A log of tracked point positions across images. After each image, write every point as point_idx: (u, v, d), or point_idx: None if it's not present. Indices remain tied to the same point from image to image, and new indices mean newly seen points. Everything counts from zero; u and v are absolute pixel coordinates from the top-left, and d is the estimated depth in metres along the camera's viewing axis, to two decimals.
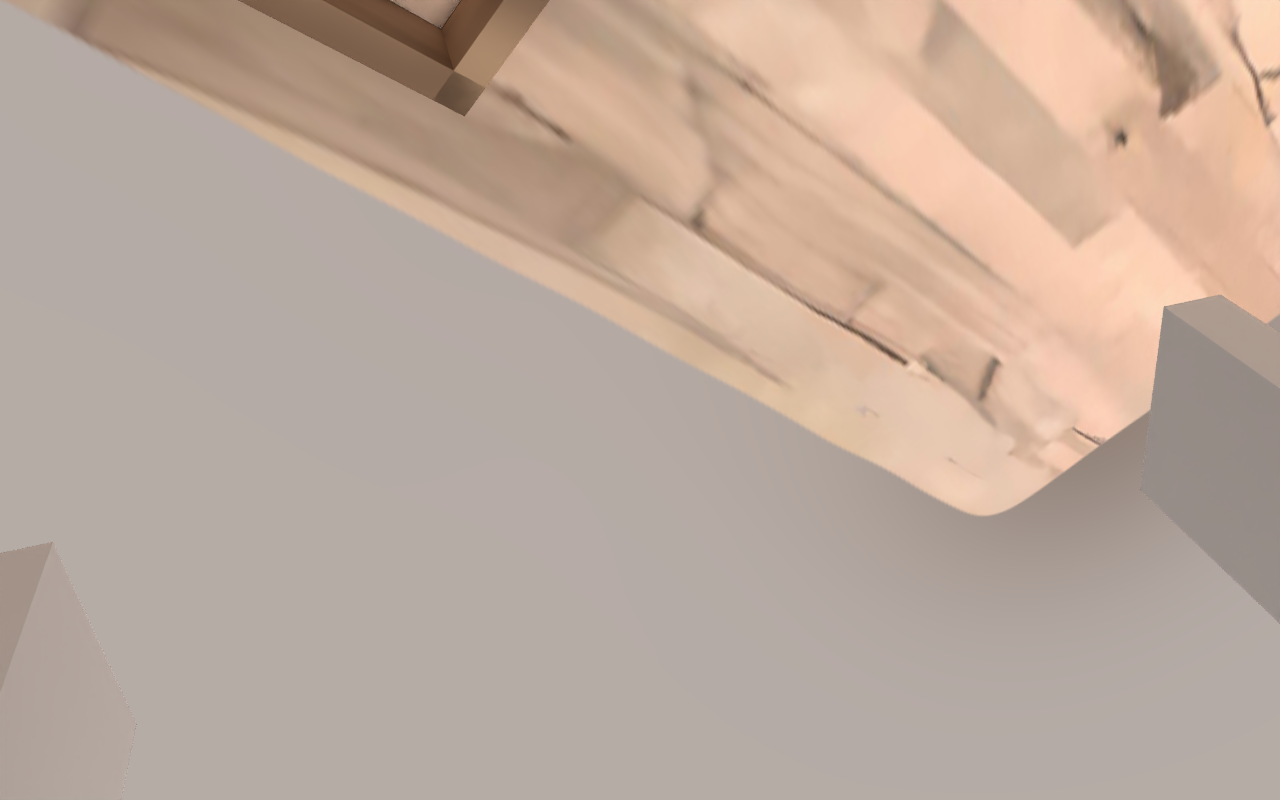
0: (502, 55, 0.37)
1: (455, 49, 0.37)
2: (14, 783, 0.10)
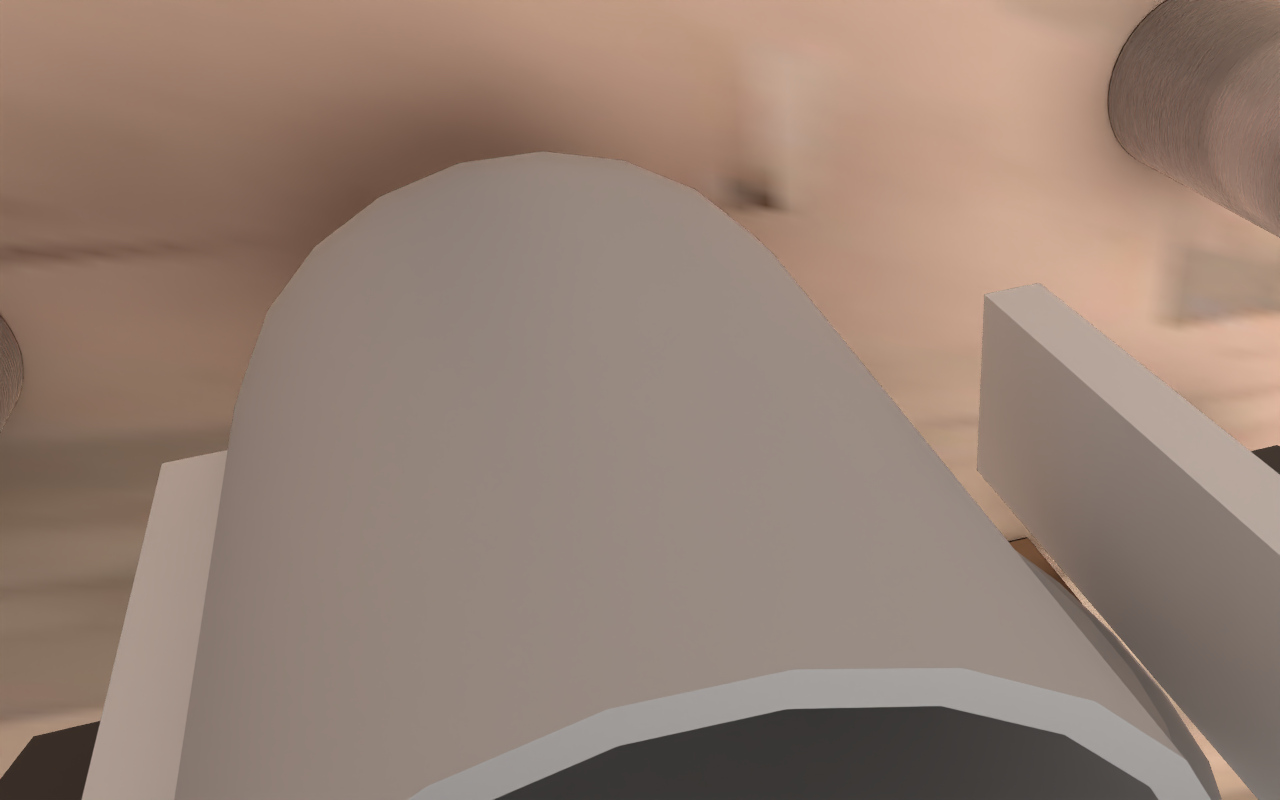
0: None
1: None
2: None
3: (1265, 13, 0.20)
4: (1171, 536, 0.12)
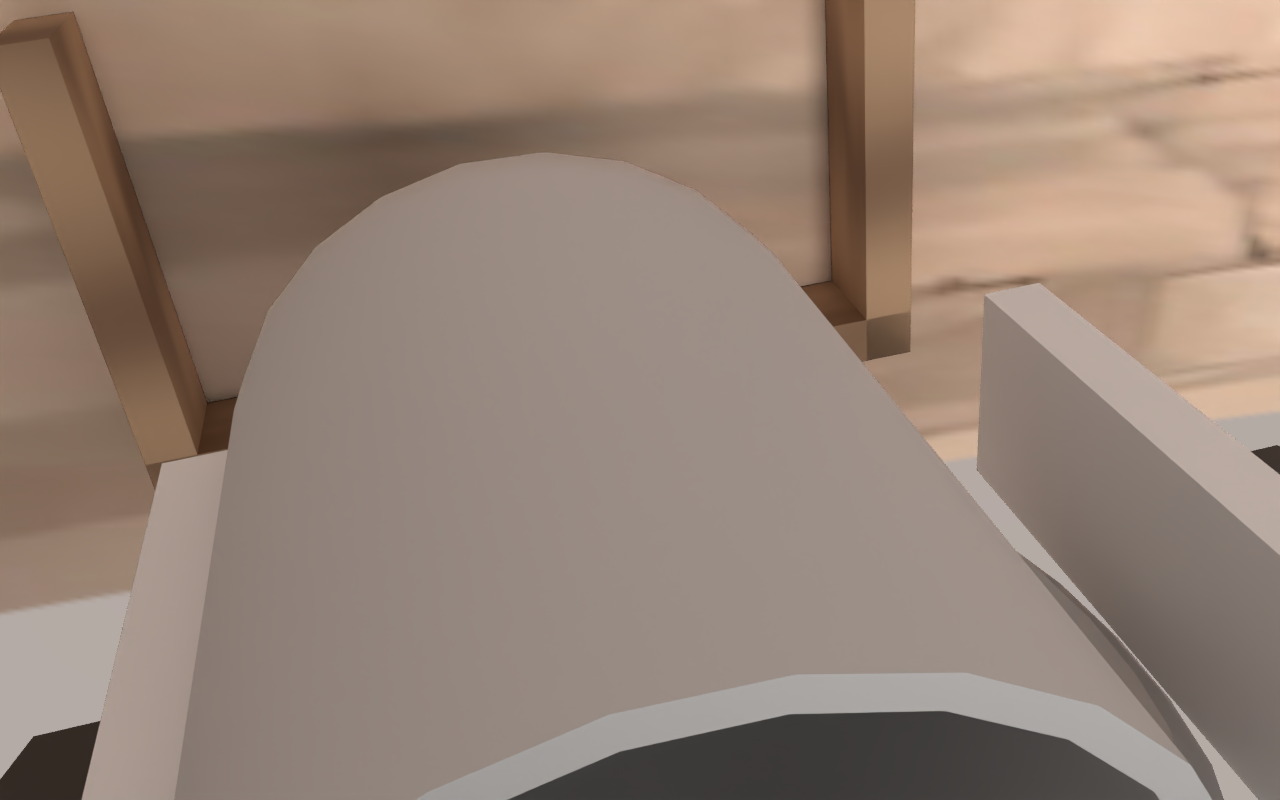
0: (904, 269, 0.30)
1: (855, 296, 0.31)
2: None
3: None
4: (1171, 536, 0.12)
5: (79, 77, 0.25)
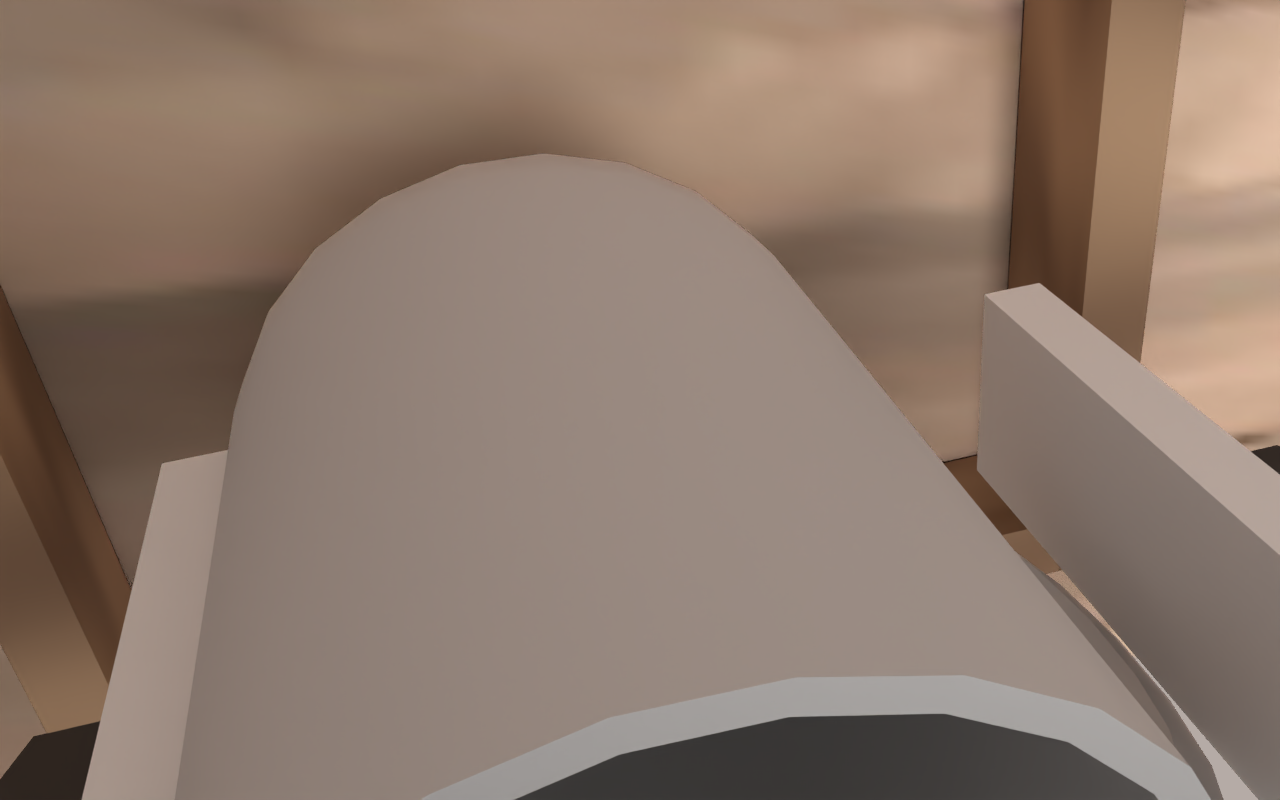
0: None
1: None
2: None
3: None
4: (1171, 536, 0.12)
5: None
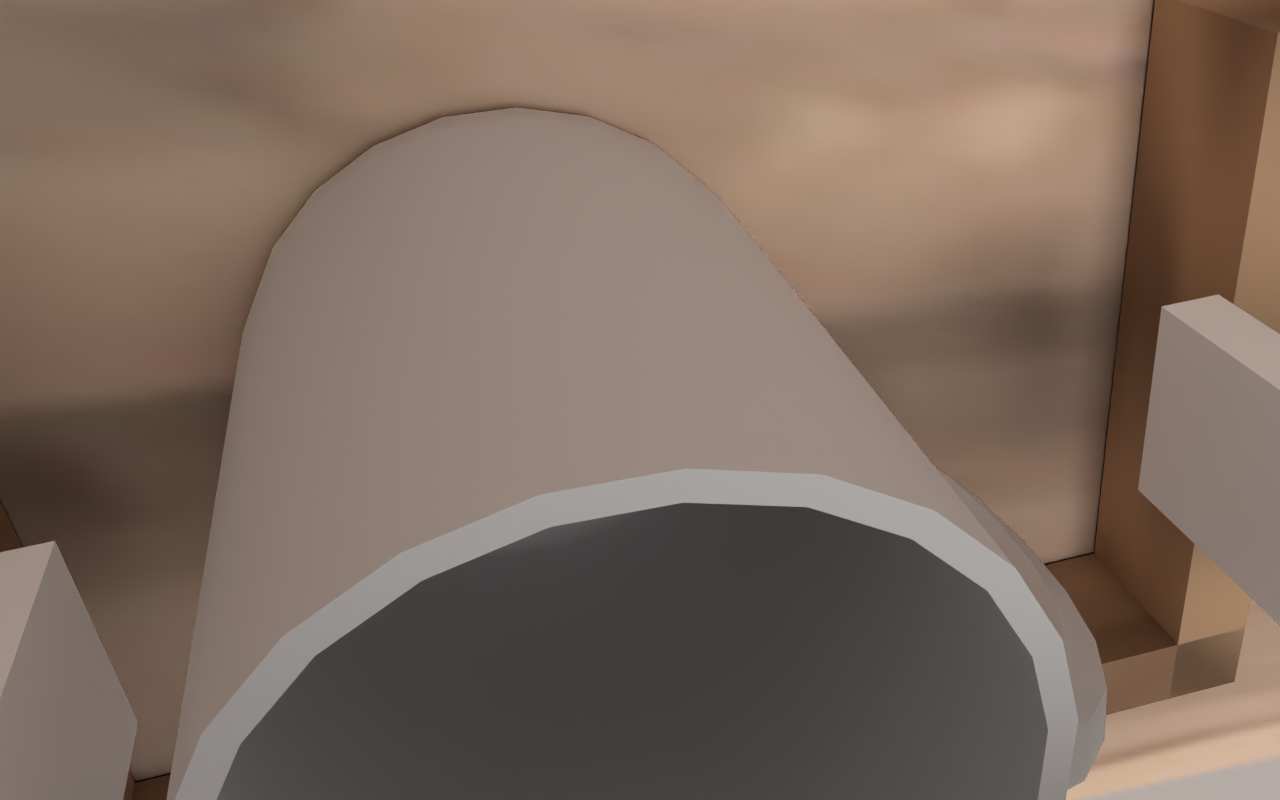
0: None
1: (1151, 600, 0.20)
2: (17, 781, 0.11)
3: None
4: None
5: None
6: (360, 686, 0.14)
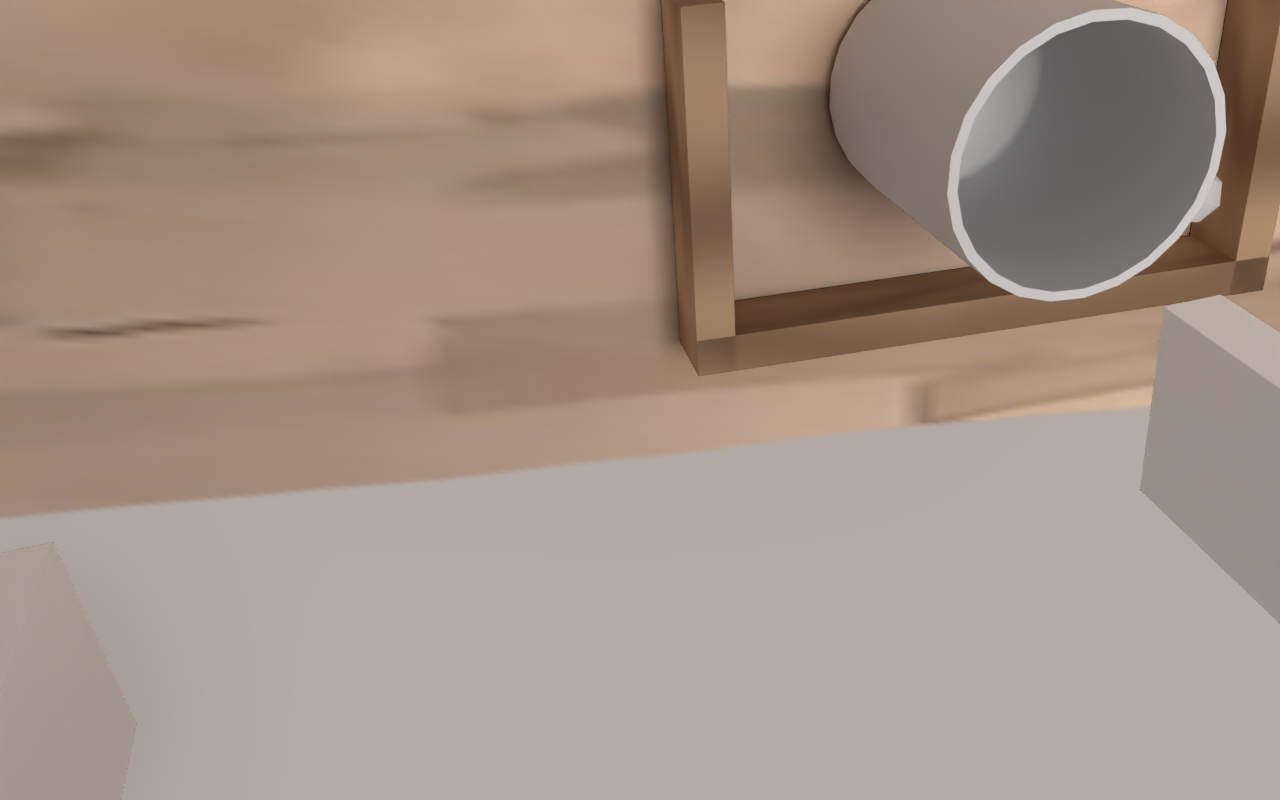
0: (1271, 221, 0.38)
1: (1222, 243, 0.39)
2: (14, 783, 0.10)
3: None
4: None
5: None
6: None
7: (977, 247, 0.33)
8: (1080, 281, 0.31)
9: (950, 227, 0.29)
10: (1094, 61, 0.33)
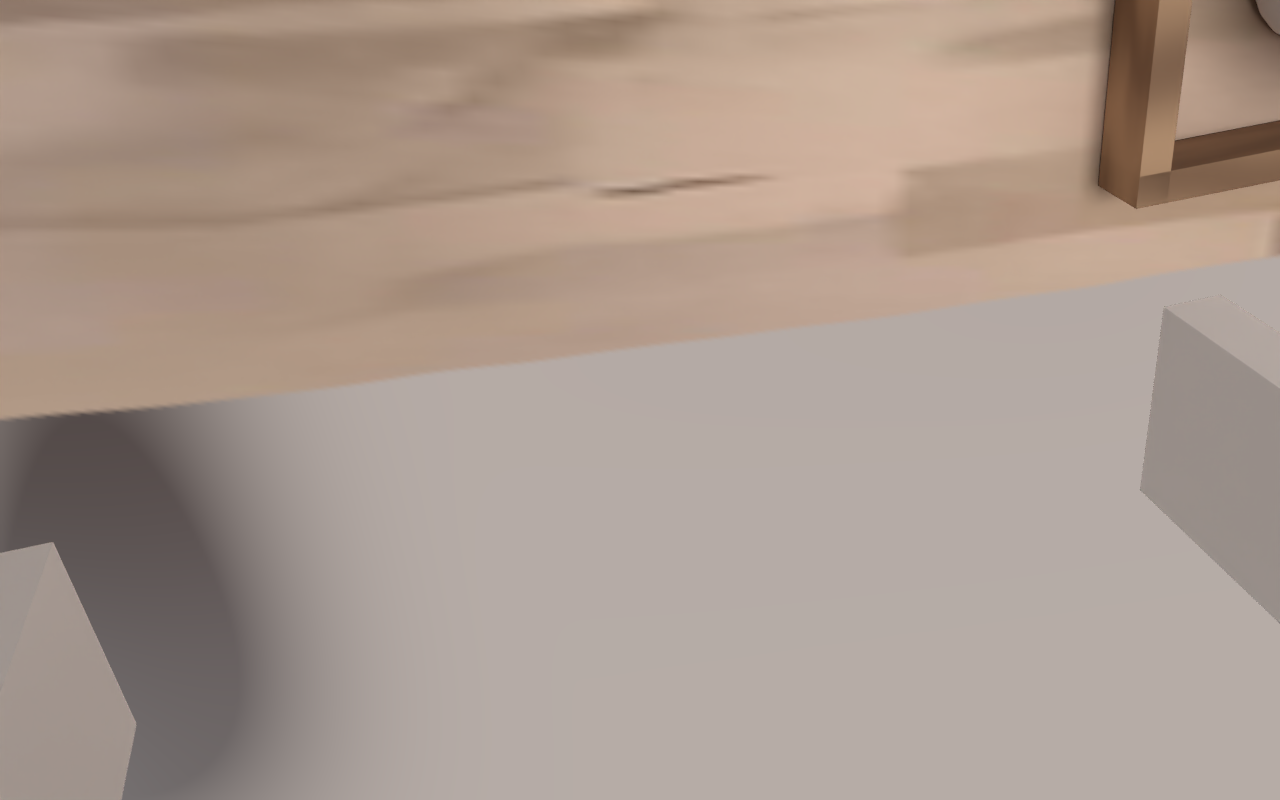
0: None
1: None
2: (14, 783, 0.10)
3: None
4: None
5: None
6: None
7: None
8: None
9: None
10: None
